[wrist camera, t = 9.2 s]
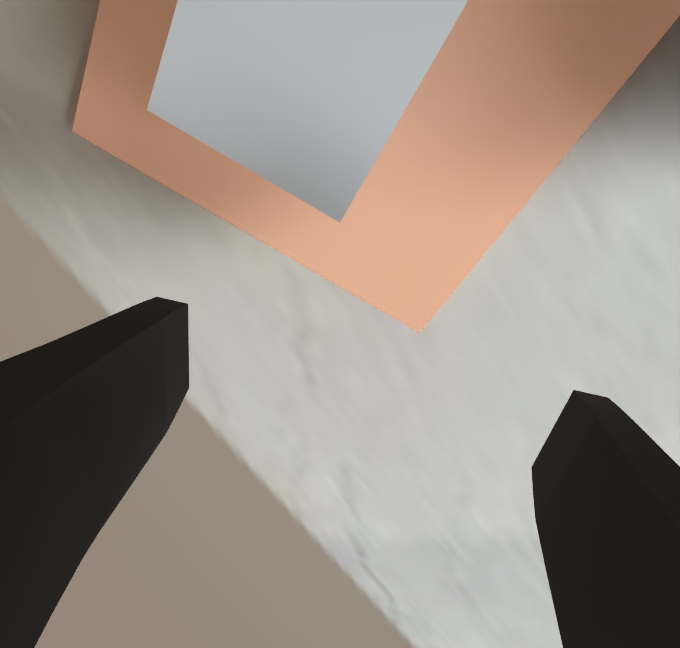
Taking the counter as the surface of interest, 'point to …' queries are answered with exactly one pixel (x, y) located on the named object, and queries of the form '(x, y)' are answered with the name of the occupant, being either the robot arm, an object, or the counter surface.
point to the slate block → (299, 84)
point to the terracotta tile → (395, 140)
